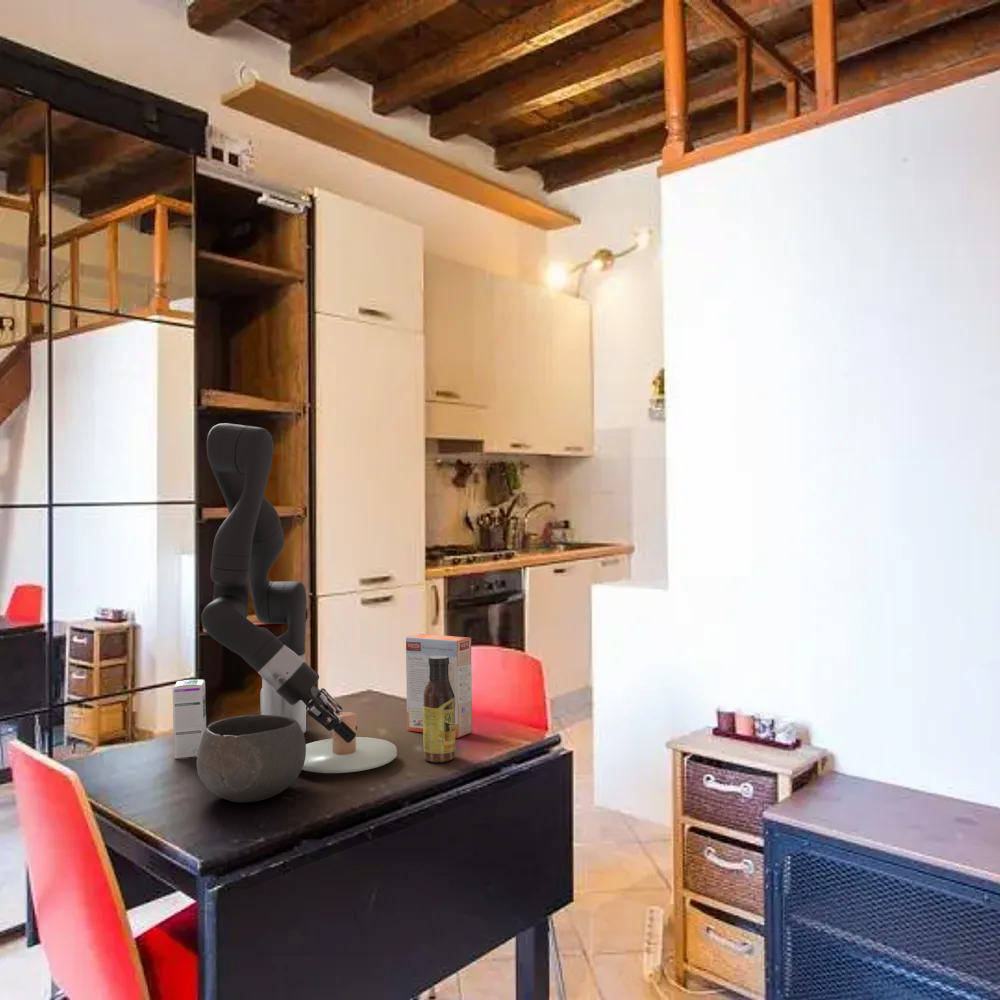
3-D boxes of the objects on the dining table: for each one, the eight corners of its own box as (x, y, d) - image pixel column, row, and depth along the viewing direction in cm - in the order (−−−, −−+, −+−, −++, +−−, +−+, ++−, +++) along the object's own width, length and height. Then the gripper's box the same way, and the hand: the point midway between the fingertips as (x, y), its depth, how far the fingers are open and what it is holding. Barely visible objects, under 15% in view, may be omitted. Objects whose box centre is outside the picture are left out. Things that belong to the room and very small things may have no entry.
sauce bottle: (450, 764, 160) (449, 660, 160) (419, 763, 161) (418, 659, 161) (459, 754, 166) (458, 654, 166) (429, 753, 167) (427, 653, 168)
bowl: (173, 808, 138) (172, 731, 138) (242, 775, 155) (242, 707, 155) (264, 821, 132) (263, 741, 132) (326, 785, 149) (325, 714, 149)
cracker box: (473, 733, 182) (472, 636, 182) (457, 739, 177) (456, 640, 177) (422, 724, 190) (421, 632, 190) (405, 730, 184) (404, 635, 185)
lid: (269, 759, 160) (268, 717, 160) (350, 736, 175) (350, 698, 175) (336, 780, 147) (336, 734, 147) (418, 753, 162) (417, 712, 162)
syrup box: (204, 756, 167) (203, 683, 167) (172, 759, 166) (172, 685, 166) (207, 748, 173) (206, 678, 173) (176, 751, 171) (175, 680, 171)
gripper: (298, 667, 153) (366, 730, 154) (306, 653, 167) (368, 712, 168) (268, 697, 152) (337, 761, 154) (279, 681, 166) (341, 739, 168)
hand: (353, 735), depth 161 cm, fingers closed on lid, 4 cm apart
